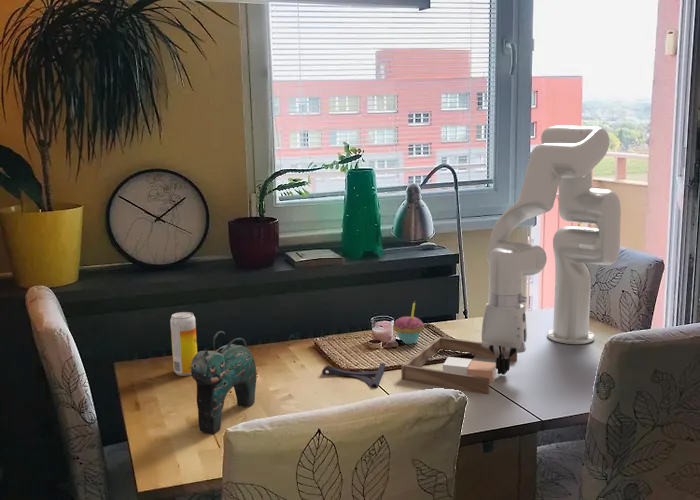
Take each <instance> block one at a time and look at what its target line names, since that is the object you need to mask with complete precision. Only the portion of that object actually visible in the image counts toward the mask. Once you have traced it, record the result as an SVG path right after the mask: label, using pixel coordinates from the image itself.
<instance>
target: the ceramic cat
mask: <svg viewBox="0 0 700 500" xmlns="http://www.w3.org/2000/svg"><path fill="white" fill-rule="evenodd" d="M220 334H221V335H223V336H225V335H226V333H225V332H224V331H223V330H219V331H217V332H216V333H215V334H214V336H213V339H212V347H213V350H214V351H213V350H200V351H197V354H196V355H195V356H194V358H193V360H192V364H191V375H190V376H191V377H192V379H193V380H194V381H195V382H196V404H197V405H196V406H197V413H198V414H197V416H198V428H199V432H200V433H203V434H209V435H215V434H216V433H217V432H219V431H220V430H221V427H222V425H221V423H222V417H223V416H222V414H223V409H224V405H225V401H226V397H227V395H228V393H229V392H230V390H231V389H232V388H233V389H234V393H235V394H234V395H235V398H236V405H237V407H243V408H249V407H252V406H253V405H254V404H255V402H256V401H255V399H256V388H257V387H256V386H257V378H258V377H257V367H256V362H255V359H254V356H253V354H252V352H251V350H250V349H249V348H248V345H247V341H246V340H245V339H244V338H243V337H242V338H241V337H237V338H233V339H232V340H231V341H230V342H229V343H228V344H225V345H223V346H221V347H219V348H218V349H217V350H216V342H215V341H216V338H217V337H218V335H220ZM237 341H242V342H243V344H244V345H240V344H234V343H233V342H237Z"/></svg>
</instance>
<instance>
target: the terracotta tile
mask: <svg viewBox="0 0 700 500" xmlns="http://www.w3.org/2000/svg"><path fill="white" fill-rule="evenodd" d="M496 374H497V369H496V362H489V361H478V360H472V361H471V363H470V365H469V367H468V372H467V375H473V376H479V377H485V378H489V383H493V382H494V379H495V377H496Z"/></svg>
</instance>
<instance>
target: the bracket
mask: <svg viewBox="0 0 700 500" xmlns="http://www.w3.org/2000/svg"><path fill="white" fill-rule="evenodd" d="M385 365H386V363H384V362H381V363H380V364H379V365H378V366H379V368H378V370H377V371H367V370H364V371H365V372H363V371H362V370H361V371H350V370H343V369H340V368H336V367H333V366H330V365H326V366H324V368H323V369H322V371H321V375H323V376H333V377H334V376H338V377H349V378H355V379H358V380H360V381H363V383H366V384H367V385H368V387H369V388H373V386H375V388H376V389H378V388H379V385H380V383H381V380H382V378H383V375H384V373H385V371H384V370H386V368H385V369H384V367H385ZM327 371H328V372H327Z"/></svg>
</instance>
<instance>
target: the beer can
mask: <svg viewBox="0 0 700 500" xmlns="http://www.w3.org/2000/svg"><path fill="white" fill-rule="evenodd" d="M169 321H170V337H171V338H170V339H171V351H172V352H171V353H172V366H173V367H172V369H173V372H174V373H175V375H177V376H180V377H181V376H183V377H185V376H192V375H191V364H192V360H193V358H194V356H195V355H196V354H197V353H198V343H197V341H198V340H197V327H196V326H197V323H196V317H195V315H194V313H193V312H191V311H190V312H189V311H181V312H179V311H178V312H175V313H173V314H171V317H170V320H169Z"/></svg>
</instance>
